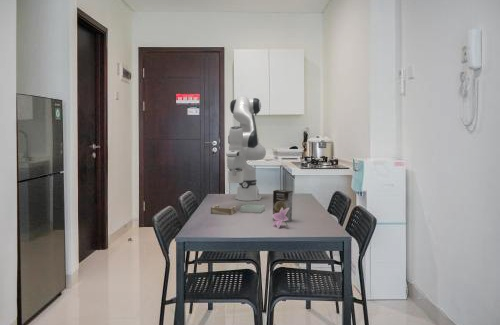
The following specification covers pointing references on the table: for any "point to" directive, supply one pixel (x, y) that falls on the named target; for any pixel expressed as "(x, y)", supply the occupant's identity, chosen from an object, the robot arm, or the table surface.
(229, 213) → the bay
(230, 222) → the table surface
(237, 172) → the white block
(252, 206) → the tray
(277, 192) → the coffee box
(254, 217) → the table surface
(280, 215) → the lily
